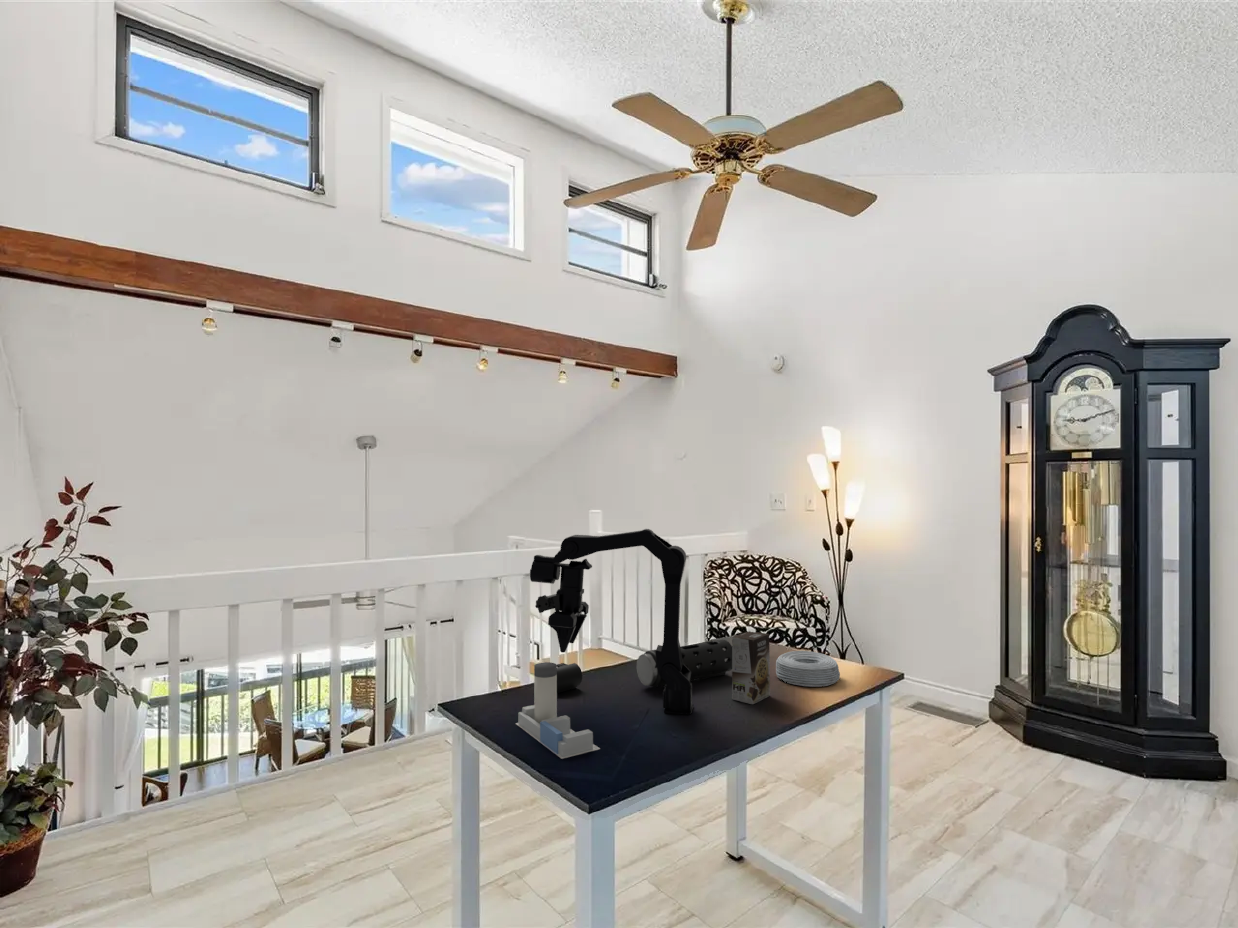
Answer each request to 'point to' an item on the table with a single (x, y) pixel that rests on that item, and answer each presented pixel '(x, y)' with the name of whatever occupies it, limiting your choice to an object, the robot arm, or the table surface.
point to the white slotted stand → (556, 734)
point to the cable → (807, 669)
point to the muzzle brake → (690, 662)
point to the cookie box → (750, 667)
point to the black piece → (568, 676)
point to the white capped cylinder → (545, 691)
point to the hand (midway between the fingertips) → (567, 647)
